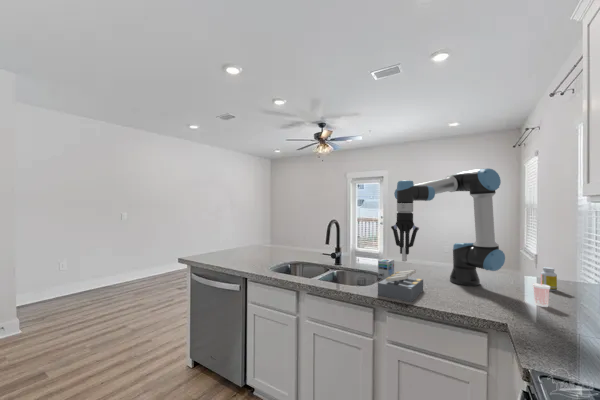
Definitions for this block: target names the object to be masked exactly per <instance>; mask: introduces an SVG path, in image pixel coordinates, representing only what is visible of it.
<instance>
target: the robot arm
mask: <svg viewBox="0 0 600 400" xmlns="http://www.w3.org/2000/svg"><path fill="white" fill-rule="evenodd" d="M501 182H502V181H501V177H500V174H499V173H498V172H497V171H496V170H495V169H492V168H480V169H479V168H478V169H472V170H465V171H461V172H458V173H455V174H452V175H451V174H450V175H447V176H445V178H441V179H437V180H431V181H427V182H422V183H421V182H420V183H416V184H414V181H413V180H406V179H405V180H398V182H397V184H396V189H395V190H394V197H395V199H396V212H397V213H396V222H395V224H394V225H391V226H390V228H391V230H392V232H393V237H394V241H395V245H396V246H398V247H399V254H400V255H401V261H402V262H407V261H408V255H409V254H410V248H412V247H414V244H415V240H416V236H417V232H418V231H419V229H420V227H418V226H416V225H415V223H414V201H415V202H416V201H419V202H422V201H424V202H427V201H428V202H430V201H433V200H434V198H435V197H436V195H438V194H442V193H446V192H447V193H448V192H449V193H454V192H469V196H471V197H472V198H473V213H474V214H473V216H474V229H475V230H474V231H475V242H456V243H454V244H453V247H452V248H453V249H452V264H453V265H452V270H451V273H450V276H449V281H450V282H452V283H453V284H455V285H456V284H457V285H460V286H462V285H463V286H469V287H471V286H472V287H475V286H479V285H480V283H481V280H480V278H479V274H478V272H477V268H478V269H481V270H485V271H490V272H496V271H498V270H501V269H502V267H503V266H504V264H505V262H506V261H505V260H506V255H505V252H504V251H503V250H501V249H500V248H499V244H498V242H496V240H495V239H496V237H495V221H494V220H495V219H494V202H493V197H494V196H495V195H496V190H498V189H499V188H500V186H501ZM398 230H399V234H398ZM411 230H412V233H411ZM410 233H411V235H410Z"/></svg>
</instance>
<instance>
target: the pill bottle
mask: <svg viewBox="0 0 600 400" xmlns="http://www.w3.org/2000/svg"><path fill="white" fill-rule="evenodd" d="M541 274H542V284H544V285H548V286H550V289H549V292H550V291H551V292H555V291H557V290H558V277H557V274H556V273H555V268H554V267H549V266H543V267H542V271H541V272H540V275H541Z"/></svg>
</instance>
